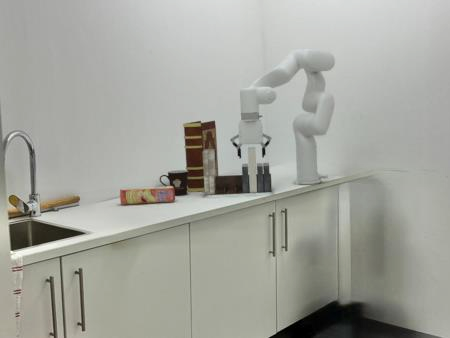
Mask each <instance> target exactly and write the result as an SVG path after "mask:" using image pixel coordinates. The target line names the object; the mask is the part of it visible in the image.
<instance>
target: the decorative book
mask: <svg viewBox="0 0 450 338" xmlns="http://www.w3.org/2000/svg"><path fill="white" fill-rule="evenodd" d="M182 127H183V133H184V136H183V139H184V149H185V165H186V166H185V170H187V171H188V183H187V192H190V193H195V192H196V193H198V192H205V187H204V169H203V151H204V150H205V149H214V153H215V171H216V176H219V163H218V162H219V160H218V144H217V142H218V141H217V126H216V121H215V120H210V121H205V122H202V121H201V120H197V121H192V122H186V123H185V122H184V123H182Z"/></svg>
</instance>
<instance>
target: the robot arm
mask: <svg viewBox="0 0 450 338" xmlns="http://www.w3.org/2000/svg"><path fill="white" fill-rule="evenodd" d="M335 64H336V58H335V57H334V55H333V54H332V53H331V52H330V51H325V50H320V49H315V48H298V49H293V50H291V51H290V52H289V53H287V54H286V56H285V57H284V58H283V59H282V60H281V61H280V62H279V63H278V64H277V65H276V66H275V67H274V68H273V69H271V70H269V71H268V72H266V73H264V74H262V75H261V76H260V77H257V79H255V80H254V82H252V83H251V85H250V86H249V87H248V86H247V87H242V88H240V90H239V95H240V96H239V97H240V99H239V101H240V119H241V120H239V122H238V134H236V135H234V136H232V137H231V138H230V142H231V144H232V146H233V147H235V148H236V151H237V152H236V153H237V157H239V159H242V148H241V147H242V146H243V145H260V146H261V157H262V158H263V159H264V158H265V156H266V148H267V147H268V146H269V145H270V143H271V141H272V136H269V135H268V134H265V133H264V131H263V123H262V120H261V119H260V118H263V113H260V106H259V105H271V104H273V103H274V102H275V101H276V99H277V91H276V90H275V89H274V88H278V87H281V86H284V85H286V84H288V83H290V81H291V80H292V79H293V78H294V77H295V76H296V75H297V73H299V71H300V70H302V69H303V70H304V73H305V75H306V77H307V78H306V79H307V80H306V81H307V83H306V87H305V90H304V94H303V97H302V101H301V109H302V110H303V111H304V112H306V113H301V114H299V115H297V116H295V118H294V119H293V121H292V129H293V135H294V139H295V140H294V141H295V158H296V159H295V160H296V162H295V163H296V179H294V180H293V182H294V183H297V184H298V185H303V186H304V185H316V184H320V183H322V179H328V178H329V177H328V176H329V175H328V173H319V172H318V151H317V150H318V146H317V141H316V138H315V136H324V135H325V134H326V133H327V132H328V130H329V127H330V124H331V120H332V117H333V114H334V110H335V97H334V96H333V94H332V93H330V92H328V91H325V89H326V86H327V85H326V84H327V83H326V78H325V76H324V74H323V72H329V71H331V70H332V69H333V68H334V67H335ZM264 138H265V139H267V140H266V142H265V143H264ZM237 139H238V142H239V143H237V142H236V141H235V140H237Z"/></svg>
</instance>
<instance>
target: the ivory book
mask: <svg viewBox="0 0 450 338" xmlns="http://www.w3.org/2000/svg"><path fill="white" fill-rule="evenodd" d="M256 154H257V153H256V146H252V147H251V146H250V147H249V146H248V148H247V158H248V159H247V160H248V174H249V184H250V193H249V194H258V193H257V176H256V174H257V160H256V159H257V157H256Z"/></svg>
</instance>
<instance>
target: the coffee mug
mask: <svg viewBox="0 0 450 338" xmlns="http://www.w3.org/2000/svg"><path fill="white" fill-rule="evenodd" d="M162 177H166V178H167V180H168V182H169V186H173V187H174V191H175V197H181V196H186V195H188V191H187V188H188V184H187V183H188V171H187V169H180V170H170V171H167V174H162V175H161V176H159V182H160V183H161V185H163V186H168V185H167V184H166V183H164V182H163V181H162Z"/></svg>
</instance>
